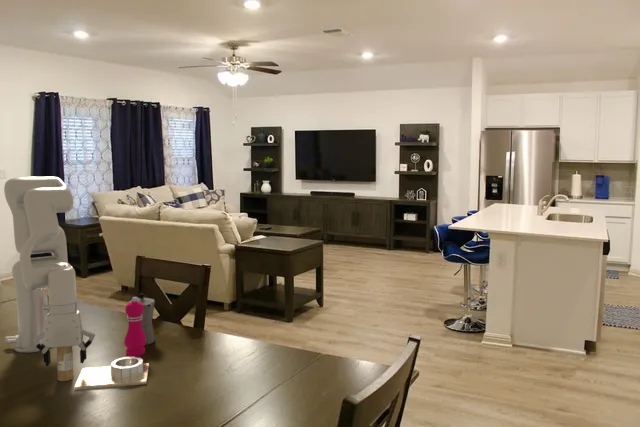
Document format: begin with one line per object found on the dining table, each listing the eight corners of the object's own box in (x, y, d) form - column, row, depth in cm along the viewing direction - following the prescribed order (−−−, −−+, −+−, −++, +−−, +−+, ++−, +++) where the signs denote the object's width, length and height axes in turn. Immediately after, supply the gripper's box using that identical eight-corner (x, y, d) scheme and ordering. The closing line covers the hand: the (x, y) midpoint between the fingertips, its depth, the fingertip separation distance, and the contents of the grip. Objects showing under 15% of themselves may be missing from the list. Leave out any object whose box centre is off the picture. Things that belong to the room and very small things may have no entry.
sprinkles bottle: (54, 378, 166) (53, 336, 164) (69, 374, 169) (68, 332, 168) (61, 383, 163) (60, 340, 161) (76, 378, 166) (75, 336, 165)
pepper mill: (139, 358, 183) (138, 300, 181) (120, 356, 184) (118, 299, 182) (150, 350, 190) (149, 295, 188) (131, 348, 191) (130, 293, 189)
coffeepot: (163, 343, 198) (162, 294, 196) (138, 349, 191) (137, 299, 189) (143, 332, 209) (142, 286, 207) (119, 337, 202) (118, 290, 200)
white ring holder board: (74, 390, 158) (73, 375, 158) (82, 371, 172) (82, 357, 171) (146, 383, 163) (146, 369, 163) (148, 365, 177) (148, 352, 176)
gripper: (28, 313, 158) (31, 370, 160) (92, 309, 162) (94, 365, 164) (34, 306, 165) (37, 361, 167) (95, 303, 169) (97, 356, 171)
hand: (65, 363), depth 165 cm, fingers open, 9 cm apart
